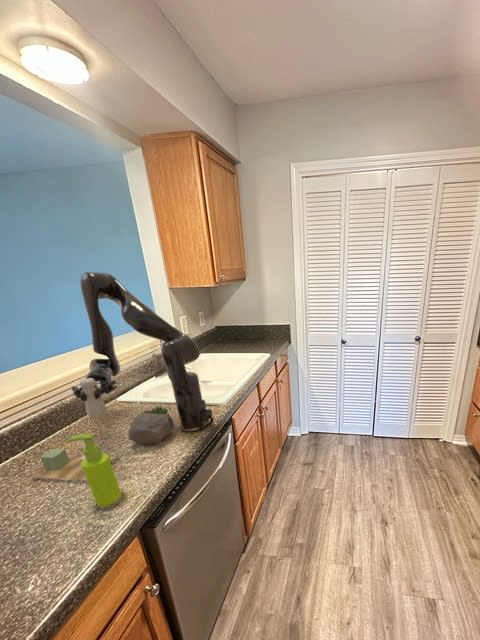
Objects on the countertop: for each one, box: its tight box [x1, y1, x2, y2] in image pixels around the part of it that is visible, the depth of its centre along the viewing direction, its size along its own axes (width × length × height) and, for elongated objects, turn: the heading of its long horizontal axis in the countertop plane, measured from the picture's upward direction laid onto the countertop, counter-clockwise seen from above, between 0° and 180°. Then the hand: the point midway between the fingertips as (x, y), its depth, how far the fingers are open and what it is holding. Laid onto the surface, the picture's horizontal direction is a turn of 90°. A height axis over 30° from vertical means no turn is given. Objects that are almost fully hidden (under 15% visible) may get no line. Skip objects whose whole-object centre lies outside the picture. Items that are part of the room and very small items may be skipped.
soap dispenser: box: [67, 433, 122, 508], centre depth 81 cm, size 6×7×20 cm
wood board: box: [34, 454, 116, 481], centre depth 99 cm, size 18×12×1 cm, turn 82°
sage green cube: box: [40, 448, 70, 470], centre depth 99 cm, size 4×4×4 cm
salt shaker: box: [78, 378, 108, 420], centre depth 104 cm, size 6×6×13 cm
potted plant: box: [128, 405, 175, 446], centre depth 113 cm, size 12×13×15 cm
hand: (89, 397), depth 101 cm, fingers closed on salt shaker, 3 cm apart
